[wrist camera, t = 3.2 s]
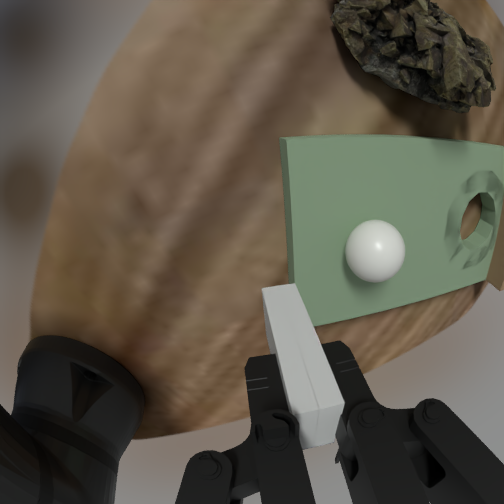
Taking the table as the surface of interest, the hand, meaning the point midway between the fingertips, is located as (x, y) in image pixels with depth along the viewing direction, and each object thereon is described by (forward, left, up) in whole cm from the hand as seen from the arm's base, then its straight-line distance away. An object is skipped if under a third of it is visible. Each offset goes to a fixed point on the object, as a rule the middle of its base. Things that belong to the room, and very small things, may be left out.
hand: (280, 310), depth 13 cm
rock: (+12, +15, -9) cm, 21 cm away
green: (+14, 0, -8) cm, 16 cm away
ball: (+7, 0, -4) cm, 8 cm away
